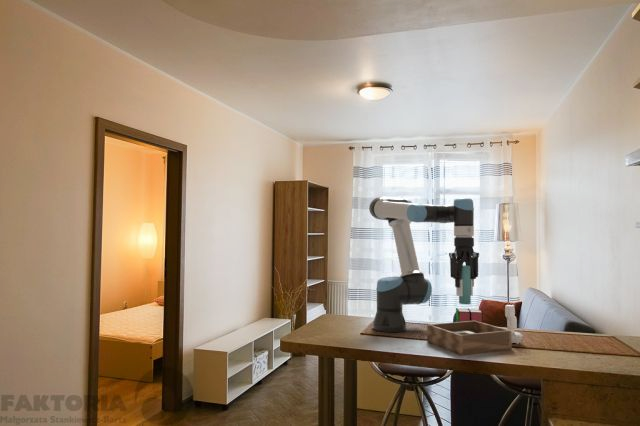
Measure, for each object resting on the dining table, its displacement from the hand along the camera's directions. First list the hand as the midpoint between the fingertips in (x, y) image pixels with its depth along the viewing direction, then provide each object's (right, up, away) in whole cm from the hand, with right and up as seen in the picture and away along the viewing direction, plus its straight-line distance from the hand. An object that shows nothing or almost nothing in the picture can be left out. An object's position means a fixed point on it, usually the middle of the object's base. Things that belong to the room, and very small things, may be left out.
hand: (464, 295), depth 170 cm
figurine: (+20, -20, +3) cm, 28 cm away
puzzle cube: (+9, -21, +20) cm, 30 cm away
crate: (+1, -19, -3) cm, 19 cm away
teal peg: (0, -3, 0) cm, 3 cm away
